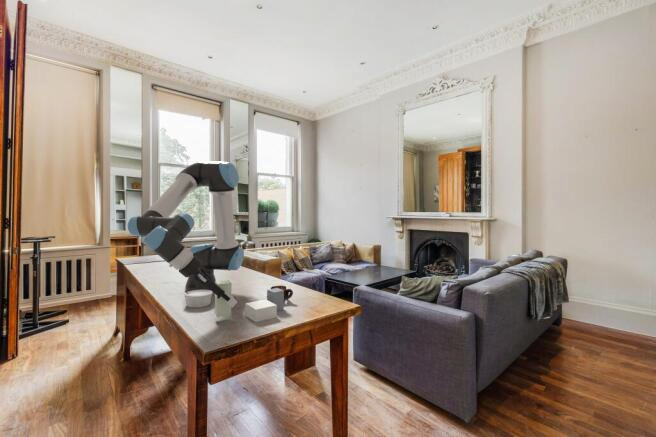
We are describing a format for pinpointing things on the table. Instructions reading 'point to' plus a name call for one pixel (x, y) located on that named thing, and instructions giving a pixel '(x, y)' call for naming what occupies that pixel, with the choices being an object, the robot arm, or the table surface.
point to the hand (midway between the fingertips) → (233, 302)
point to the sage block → (220, 304)
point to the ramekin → (198, 298)
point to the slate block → (276, 297)
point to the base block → (260, 310)
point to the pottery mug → (285, 292)
